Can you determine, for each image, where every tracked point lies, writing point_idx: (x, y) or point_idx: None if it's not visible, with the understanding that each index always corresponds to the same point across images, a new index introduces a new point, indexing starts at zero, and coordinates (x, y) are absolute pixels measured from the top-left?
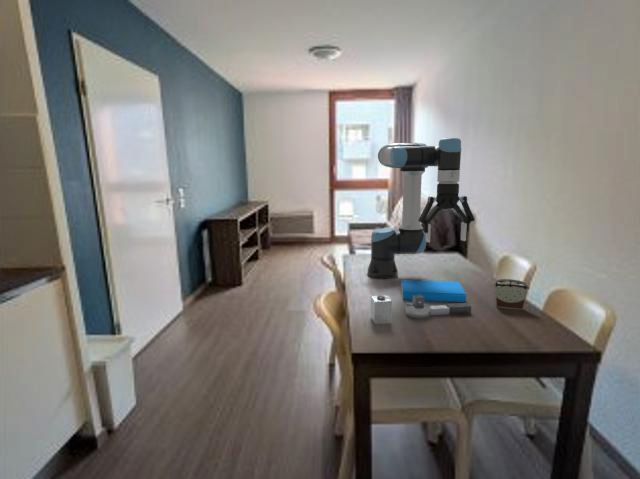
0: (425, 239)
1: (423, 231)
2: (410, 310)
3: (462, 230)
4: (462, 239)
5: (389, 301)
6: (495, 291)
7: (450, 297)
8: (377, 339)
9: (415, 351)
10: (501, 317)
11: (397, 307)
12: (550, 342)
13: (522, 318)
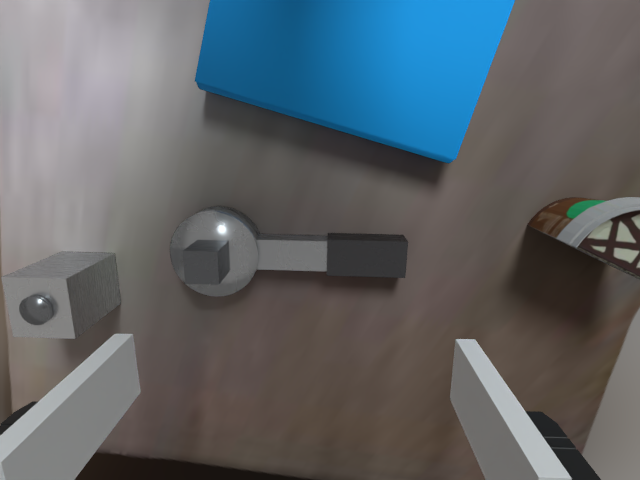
0: (106, 345)
1: (19, 412)
2: (180, 276)
3: (487, 435)
4: (455, 380)
5: (67, 338)
6: (554, 237)
7: (390, 145)
8: None
9: (151, 455)
10: (480, 311)
11: (166, 174)
12: None
13: (540, 328)
